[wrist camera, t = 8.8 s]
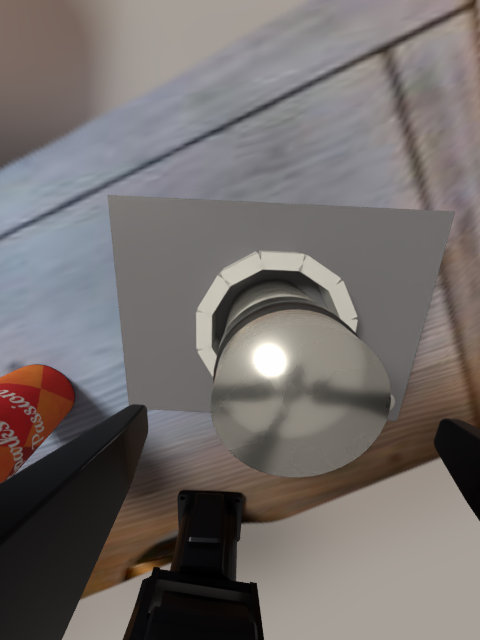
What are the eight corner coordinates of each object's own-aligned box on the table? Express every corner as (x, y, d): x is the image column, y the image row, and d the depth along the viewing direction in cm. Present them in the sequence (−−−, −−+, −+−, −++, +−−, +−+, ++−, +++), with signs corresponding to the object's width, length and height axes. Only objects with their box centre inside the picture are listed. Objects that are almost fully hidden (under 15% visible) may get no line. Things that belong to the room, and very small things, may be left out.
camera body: (363, 381, 22) (416, 443, 15) (154, 371, 22) (114, 429, 15) (398, 219, 18) (491, 206, 11) (144, 207, 18) (84, 187, 11)
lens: (311, 365, 16) (373, 482, 8) (225, 362, 16) (207, 475, 8) (322, 279, 14) (415, 325, 6) (226, 275, 14) (206, 316, 7)
